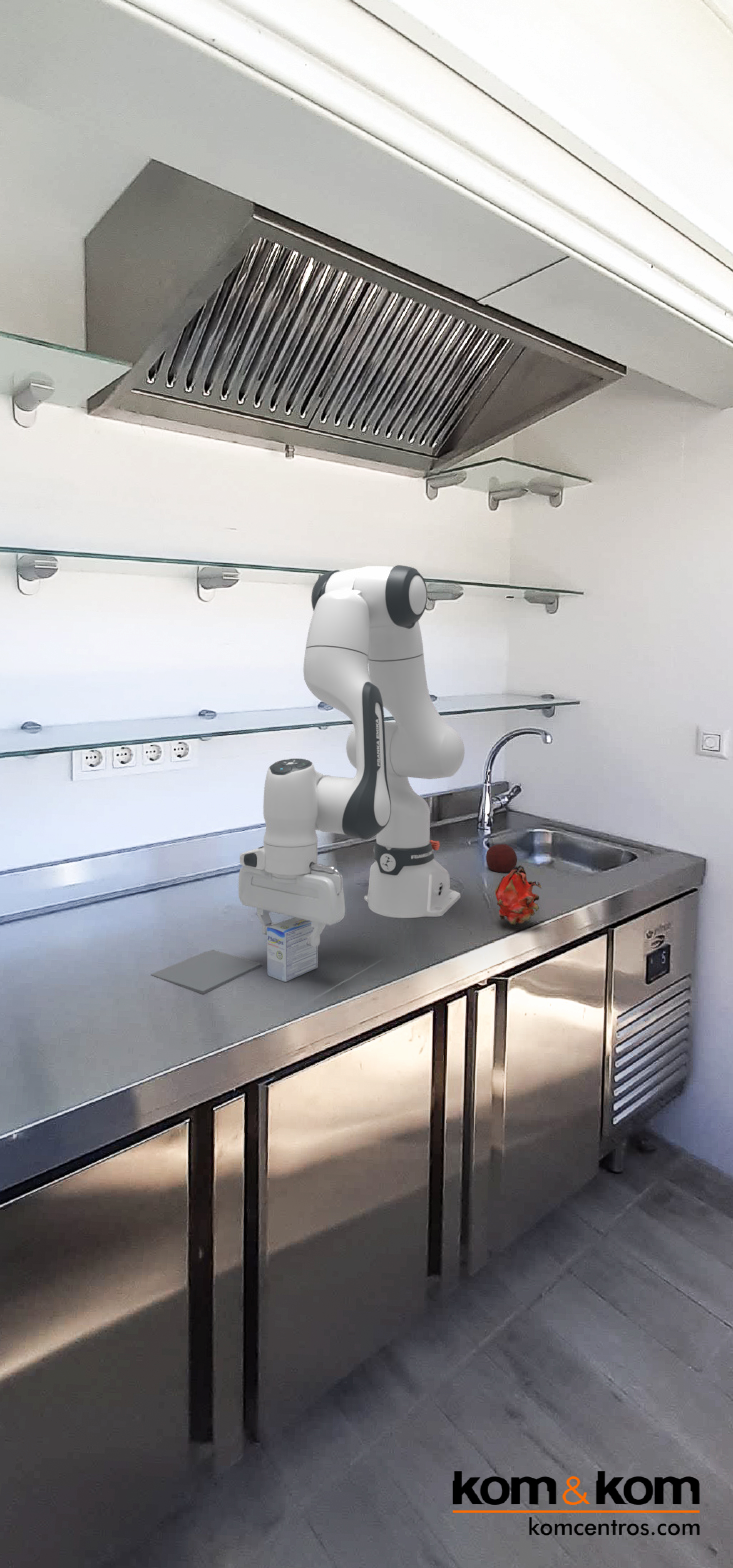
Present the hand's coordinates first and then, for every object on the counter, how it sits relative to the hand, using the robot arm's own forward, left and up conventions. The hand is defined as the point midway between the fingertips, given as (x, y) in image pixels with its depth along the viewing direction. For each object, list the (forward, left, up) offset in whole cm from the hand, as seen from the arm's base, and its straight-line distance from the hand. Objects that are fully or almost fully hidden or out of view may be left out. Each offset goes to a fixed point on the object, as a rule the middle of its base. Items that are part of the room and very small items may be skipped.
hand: (290, 939), depth 137 cm
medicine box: (-1, 0, -6) cm, 6 cm away
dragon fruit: (-44, +21, -6) cm, 49 cm away
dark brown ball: (-79, +2, -6) cm, 79 cm away
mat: (+7, -12, -6) cm, 15 cm away
